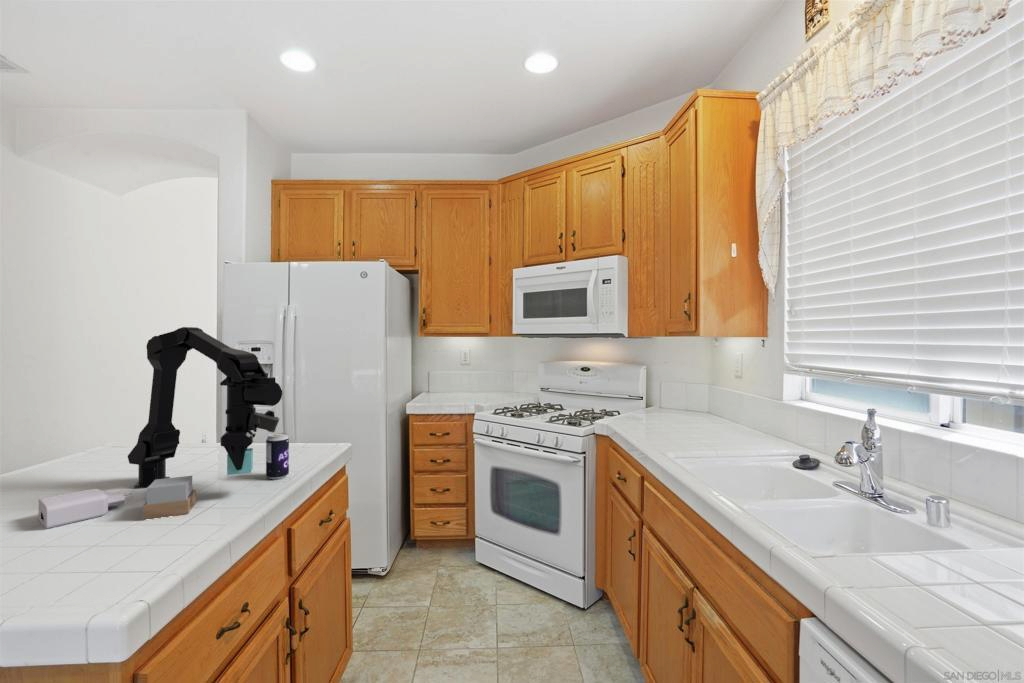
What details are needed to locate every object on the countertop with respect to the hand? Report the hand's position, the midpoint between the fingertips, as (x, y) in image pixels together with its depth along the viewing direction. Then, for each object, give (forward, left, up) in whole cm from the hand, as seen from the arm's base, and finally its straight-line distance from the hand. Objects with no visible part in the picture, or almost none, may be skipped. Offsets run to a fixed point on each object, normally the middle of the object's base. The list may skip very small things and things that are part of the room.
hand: (240, 467), depth 112 cm
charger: (-1, -29, -8) cm, 30 cm away
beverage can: (-13, +8, -7) cm, 17 cm away
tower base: (+5, -13, -8) cm, 16 cm away
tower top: (+5, -13, -4) cm, 15 cm away
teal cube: (0, 0, -1) cm, 1 cm away
